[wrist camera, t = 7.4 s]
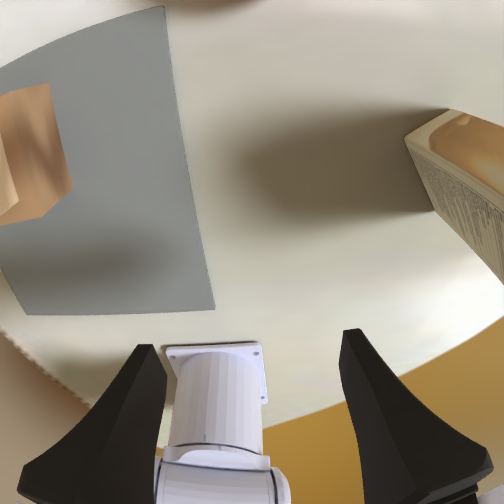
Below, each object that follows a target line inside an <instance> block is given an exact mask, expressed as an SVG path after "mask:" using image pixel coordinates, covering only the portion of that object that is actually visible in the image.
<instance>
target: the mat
mask: <svg viewBox="0 0 504 504" xmlns="http://www.w3.org/2000/svg"><path fill="white" fill-rule="evenodd" d="M45 83H49V85H50V90H51V96H52V101H53V106H54V111H55V116H56V121H57V126H58V130H59V134H60V139H61V143H62V147H63V151H64V155H65V159H66V162H67V166H68V170H69V173H70V177H71V180H72V184H73V187H74V188H73V189H72V190H71V191H70V192H69V193H68V194H66V195H65V196H64V197H63V198H62V199H61V200H60V201H59V202H58V203H57V204H55V205H54V206H53V207H52V208H51V209H50V210H49V211H48V212H47V213H46V214H45V215H44V216H43V217H40V218H35V219H30V220H25V221H21V222H16V223H11V224H7V225H2V226H0V267H1V269H2V271H3V273H4V275H5V277H6V279H7V281H8V283H9V284H10V286H11V288H12V290H13V292H14V294H15V296H16V297H17V299H18V301H19V303H20V305H21V306H22V308H23V310H24V311H25V313H26V315H115V314H145V313H168V312H187V311H204V310H215V303H214V298H213V294H212V289H211V284H210V280H209V275H208V270H207V266H206V261H205V256H204V251H203V247H202V242H201V237H200V232H199V227H198V222H197V216H196V211H195V206H194V201H193V195H192V190H191V185H190V179H189V173H188V168H187V162H186V156H185V151H184V145H183V139H182V133H181V126H180V120H179V114H178V107H177V101H176V94H175V87H174V80H173V73H172V66H171V59H170V51H169V43H168V35H167V27H166V18H165V9H164V6H163V5H162V6H158V7H153V8H149V9H145V10H142V11H138V12H134V13H131V14H127V15H124V16H120V17H117V18H114V19H111V20H108V21H105V22H102V23H99V24H96V25H93V26H90V27H88V28H85V29H82V30H80V31H77V32H75V33H72V34H70V35H67V36H65V37H62V38H60V39H58V40H55V41H53V42H51V43H49V44H46V45H44V46H42V47H40V48H38V49H36V50H34V51H32V52H30V53H28V54H26V55H24V56H22V57H20V58H18V59H16V60H14V61H12V62H10V63H9V64H7V65H5V66H3V67H2V68H0V96H2V95H4V94H6V93H8V92H11V91H15V90H19V89H23V88H27V87H31V86H36V85H40V84H45Z"/></svg>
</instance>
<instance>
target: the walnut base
mask: <svg viewBox="0 0 504 504" xmlns="http://www.w3.org/2000/svg"><path fill="white" fill-rule="evenodd" d="M0 134H1V138H2V143H3V147H4V151H5V155H6V158H7V162H8V166H9V169H10V173H11V176H12V180H13V183H14V186H15V189H16V192H17V196H18V199H19V201H18V202H17V203H16V204H15V205H13V206H12V207H11V208H10V209H9V210H7V211H6V212H5V213H4V214H3V215H2V216H0V226H2V225H7V224H11V223H16V222H21V221H25V220H30V219H35V218H40V217H43V216H44V215H45V214H46V213H47V212H48V211H49V210H50V209H51V208H52V207H53V206H54V205H55V204H57V203H58V202H59V201H60V200H61V199H62V198H63V197H64V196H65V195H66V194H68V193H69V192H70V191H71V190H72V189H73V188H74V187H73V184H72V180H71V177H70V173H69V170H68V166H67V162H66V159H65V155H64V151H63V147H62V143H61V139H60V134H59V130H58V126H57V121H56V116H55V111H54V106H53V101H52V96H51V90H50V85H49V83H45V84H40V85H36V86H31V87H27V88H23V89H19V90H15V91H11V92H8V93H6V94H4V95H2V96H0Z"/></svg>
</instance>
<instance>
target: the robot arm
mask: <svg viewBox="0 0 504 504" xmlns="http://www.w3.org/2000/svg"><path fill="white" fill-rule="evenodd" d="M166 355H167V357H168V360H169V362H170V364H171V366H172V369H173V371H174V373H175V375H176V377H177V380H178V381H177V388H176V394H175V400H174V407H173V413H172V420H171V427H170V434H169V441H168V446H165V447H164V453H163V459H162V457H158V456H155V452H156V445H157V440H158V434H159V429H160V424H161V419H162V414H163V409H164V404H165V398H166V386H167V374H166V372H165V370H164V368H163V366H162V364H161V362H160V360H159V357H158V355H157V353H156V351H155V349H154V346H153V344H138V345H137V346H136V348H135V349H134V351H133V352H132V354H131V355H130V357H129V358H128V360H127V361H126V363H125V364H124V366H123V367H122V368H121V370H120V371H119V373H118V374H117V376H116V377H115V378H114V380H113V381H112V383H111V384H110V385H109V387H108V388H107V390H106V391H105V392H104V393H103V395H102V396H101V397H100V399H99V400H98V401H97V402H96V404H95V405H94V406H93V407H92V409H91V410H90V411H89V412H88V413H87V414H86V416H85V417H84V418H83V419H82V420H81V421H80V422H79V423H78V424H77V425H76V426H75V427H74V428H73V429H72V430H71V431H70V432H69V433H68V434H66V435H65V436H64V437H63V438H62V439H61V440H60V441H59V442H57V443H56V444H55V445H54V446H52V447H51V448H50V449H48V450H47V451H46V452H44V453H43V454H42V455H40V456H39V457H37V458H35V459H34V460H32V461H31V462H29V463H28V464H26V465H24V467H23V470H22V473H21V476H20V480H19V483H18V487H17V491H18V493H19V494H21V495H22V496H24V497H26V498H27V499H29V500H31V501H33V502H35V503H37V504H291V496H290V489H289V484H288V481H287V479H286V477H285V476H284V475H283V474H282V473H281V471H280V470H279V469H278V468H276V467H270V458H269V456H264V455H263V443H262V416H261V405H265V404H267V403H268V397H267V389H266V381H265V372H264V364H263V356H262V347H261V344H259V343H255V342H254V343H240V344H224V345H204V346H176V347H167V348H166ZM339 370H340V376H341V382H342V387H343V391H344V395H345V398H346V402H347V405H348V409H349V412H350V416H351V419H352V423H353V426H354V430H355V433H356V438H357V442H358V448H359V455H360V462H361V469H362V478H363V489H364V500H365V504H504V484H502V485H500V486H498V487H497V488H495V489H493V490H491V491H489V492H487V493H485V494H483V495H481V496H479V497H476V494H475V492H477V491H478V486H477V482H479V481H480V480H482V479H483V478H485V477H486V476H487V475H489V474H490V473H491V472H492V471H493V469H494V466H493V464H492V461H491V458H490V455H489V453H488V451H487V449H486V448H485V447H483V446H481V445H479V444H478V443H476V442H474V441H472V440H470V439H469V438H467V437H466V436H464V435H463V434H461V433H460V432H458V431H457V430H455V429H454V428H452V427H451V426H450V425H448V424H447V423H446V422H444V421H443V420H442V419H440V418H439V417H438V416H436V415H435V414H434V413H433V412H432V411H430V410H429V409H428V408H427V407H426V406H425V405H423V403H422V402H421V401H419V400H418V399H417V398H416V397H415V396H414V395H413V394H412V393H411V392H410V391H409V390H408V388H407V387H406V386H405V385H404V384H403V383H402V382H401V381H400V380H399V379H398V377H397V376H396V375H395V374H394V373H393V372H392V370H391V369H390V368H389V367H388V365H387V364H386V363H385V362H384V360H383V359H382V358H381V357H380V355H379V354H378V353H377V351H376V350H375V349H374V347H373V346H372V345H371V343H370V342H369V340H368V339H367V337H366V336H365V335H364V333H363V332H362V330H361V329H359V328H357V329H350V330H343V338H342V344H341V351H340V358H339ZM16 504H23V503H21V502H18V501H17V502H16Z"/></svg>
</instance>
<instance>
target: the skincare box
mask: <svg viewBox="0 0 504 504" xmlns="http://www.w3.org/2000/svg"><path fill="white" fill-rule="evenodd" d="M404 141H405V144H406V146H407V148H408V150H409V153H410V155H411V157H412V159H413V162H414V164H415V166H416V168H417V171H418V173H419V175H420V177H421V180H422V182H423V184H424V186H425V189H426V191H427V193H428V196H429V198H430V200H431V202H432V205H433V207H434V209H435V211H436V213H437V214H438V215H439V216H440V217H441V218H442V219H443V220H444V221H445V222H446V223H447V224H448V225H449V226H450V227H451V228H452V229H453V230H454V231H455V232H456V233H457V234H458V235H459V236H460V237H461V238H462V239H463V240H464V241H465V242H466V243H467V244H468V245H469V246H470V247H471V248H472V249H473V250H474V251H475V253H476V254H477V255H478V256H479V257H480V258H481V259H482V260H483V261H484V262H485V264H486V265H487V266H488V267H489V268H490V269H491V270H492V272H493V273H494V274H495V275H496V276H497V277H498V279H499V280H500V281H501V282H502V283H503V285H504V127H502V126H499V125H497V124H494V123H491V122H488V121H486V120H483V119H480V118H477V117H475V116H472V115H469V114H466V113H463V112H460V111H457V110H454V109H450V110H448V111H447V112H445V113H443V114H441V115H440V116H438V117H436V118H434V119H432V120H431V121H429V122H427V123H426V124H424V125H422V126H421V127H419V128H417V129H416V130H414V131H413V132H411V133H409V134H408V135H406V136H405V138H404Z"/></svg>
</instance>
